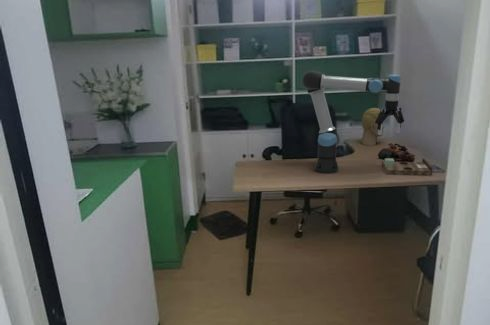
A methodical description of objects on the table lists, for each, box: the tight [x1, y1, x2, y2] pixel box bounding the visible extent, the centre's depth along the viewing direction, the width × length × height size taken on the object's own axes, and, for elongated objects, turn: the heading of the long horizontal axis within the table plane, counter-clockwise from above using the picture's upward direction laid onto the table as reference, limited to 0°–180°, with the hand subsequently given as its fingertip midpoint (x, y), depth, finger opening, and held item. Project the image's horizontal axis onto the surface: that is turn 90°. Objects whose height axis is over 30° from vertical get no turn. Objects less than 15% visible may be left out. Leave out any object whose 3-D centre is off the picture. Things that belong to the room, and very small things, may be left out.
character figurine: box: [377, 142, 416, 162], centre depth 248 cm, size 17×11×28 cm
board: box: [381, 158, 433, 176], centre depth 228 cm, size 26×19×6 cm
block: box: [384, 158, 395, 167], centre depth 230 cm, size 5×5×4 cm
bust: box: [361, 107, 385, 146], centre depth 297 cm, size 18×18×30 cm
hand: (388, 133), depth 229 cm, fingers open, 13 cm apart
